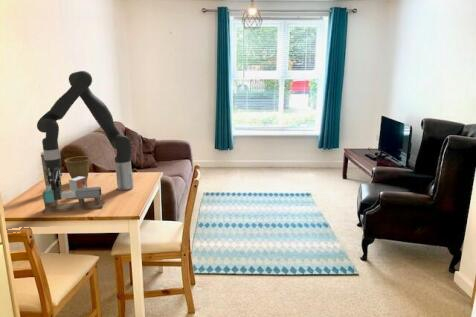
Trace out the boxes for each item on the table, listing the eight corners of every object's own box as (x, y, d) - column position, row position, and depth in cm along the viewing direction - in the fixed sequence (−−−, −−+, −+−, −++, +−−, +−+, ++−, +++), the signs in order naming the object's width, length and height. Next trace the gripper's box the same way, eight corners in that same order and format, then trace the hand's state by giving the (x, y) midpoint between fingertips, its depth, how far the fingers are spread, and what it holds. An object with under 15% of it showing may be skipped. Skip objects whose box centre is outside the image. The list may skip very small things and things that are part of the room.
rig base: (105, 201, 196) (104, 192, 194) (101, 208, 186) (100, 198, 185) (49, 206, 191) (47, 196, 189) (42, 213, 181) (41, 202, 180)
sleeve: (101, 194, 192) (100, 186, 191) (99, 197, 187) (98, 189, 186) (78, 196, 190) (77, 188, 189) (75, 199, 185) (74, 191, 184)
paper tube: (54, 195, 208) (48, 154, 202) (44, 194, 209) (37, 153, 203) (61, 191, 214) (56, 151, 208) (52, 191, 216) (46, 151, 210)
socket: (57, 198, 188) (56, 188, 187) (54, 202, 183) (52, 192, 182) (47, 199, 188) (46, 189, 186) (44, 202, 182) (42, 192, 181)
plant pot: (64, 182, 232) (61, 159, 229) (87, 177, 242) (84, 155, 238) (72, 187, 222) (69, 163, 218) (96, 182, 231) (93, 158, 228)
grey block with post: (88, 195, 190) (86, 177, 188) (87, 197, 186) (84, 179, 184) (51, 198, 187) (48, 180, 185) (48, 200, 183) (45, 182, 181)
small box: (78, 198, 202) (76, 180, 200) (70, 197, 204) (68, 179, 202) (88, 193, 210) (86, 176, 207) (81, 192, 212) (78, 176, 209)
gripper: (55, 160, 174) (60, 191, 178) (64, 154, 188) (68, 183, 192) (39, 161, 173) (44, 192, 177) (49, 155, 187) (53, 184, 191)
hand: (56, 187), depth 184 cm, fingers open, 8 cm apart
